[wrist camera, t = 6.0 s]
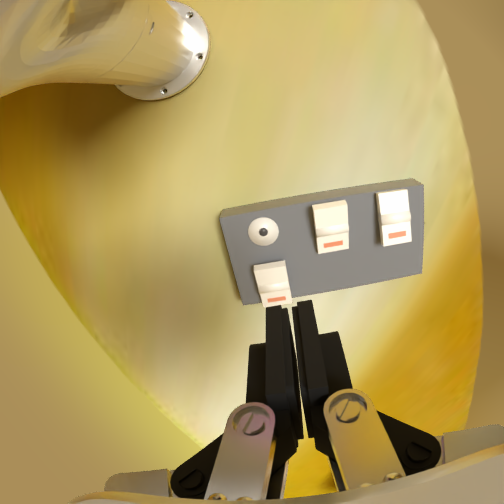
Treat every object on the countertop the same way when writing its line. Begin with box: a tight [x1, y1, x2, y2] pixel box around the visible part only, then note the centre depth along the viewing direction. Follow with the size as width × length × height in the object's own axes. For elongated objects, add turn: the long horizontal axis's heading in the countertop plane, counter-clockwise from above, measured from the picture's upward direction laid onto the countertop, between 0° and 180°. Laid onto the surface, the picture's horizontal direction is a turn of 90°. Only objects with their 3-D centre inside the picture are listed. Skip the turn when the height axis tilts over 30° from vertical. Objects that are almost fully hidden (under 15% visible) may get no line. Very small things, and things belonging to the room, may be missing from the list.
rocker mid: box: [312, 200, 349, 254], centre depth 34 cm, size 6×4×2 cm, turn 12°
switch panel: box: [219, 179, 424, 305], centre depth 37 cm, size 12×24×3 cm, turn 102°
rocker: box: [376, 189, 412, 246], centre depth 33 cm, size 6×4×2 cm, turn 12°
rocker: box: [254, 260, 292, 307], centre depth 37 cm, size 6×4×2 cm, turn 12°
